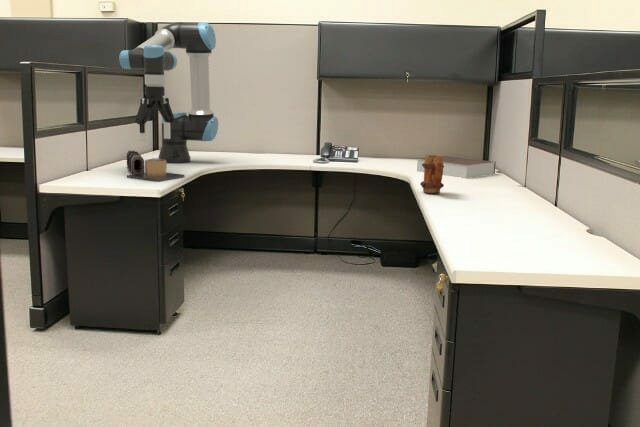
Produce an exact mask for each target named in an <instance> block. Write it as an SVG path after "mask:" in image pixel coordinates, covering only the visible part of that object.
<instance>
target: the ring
mask: <svg viewBox="0 0 640 427" xmlns="http://www.w3.org/2000/svg"><path fill="white" fill-rule="evenodd" d="M151 160H152V158H148V159H144V173H145V175H146V176H155V177H157V176H166V175H167V174H166V173H167V163H166V160H164V159H160V160H161V161H151Z"/></svg>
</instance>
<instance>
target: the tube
mask: <svg viewBox="0 0 640 427" xmlns="http://www.w3.org/2000/svg"><path fill="white" fill-rule="evenodd" d="M126 167H127V168H128V170H129V171H130V172H131V173H132V174H139V173H145V159H144V158H143V157H142V155H141V154H140V153H139V152H138V151H136V150H128V151H127V152H126Z"/></svg>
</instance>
